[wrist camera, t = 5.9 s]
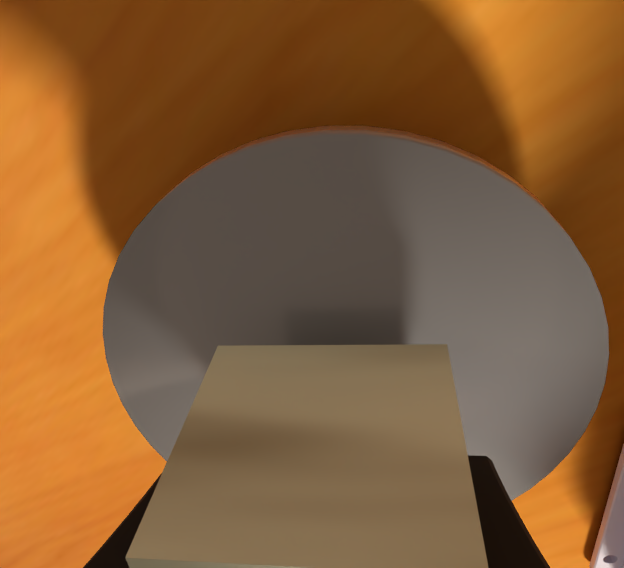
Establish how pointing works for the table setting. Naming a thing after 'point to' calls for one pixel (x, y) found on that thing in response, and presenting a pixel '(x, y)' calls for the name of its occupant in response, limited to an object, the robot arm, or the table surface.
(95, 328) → the table surface
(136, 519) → the robot arm
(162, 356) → the cake stand
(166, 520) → the block
